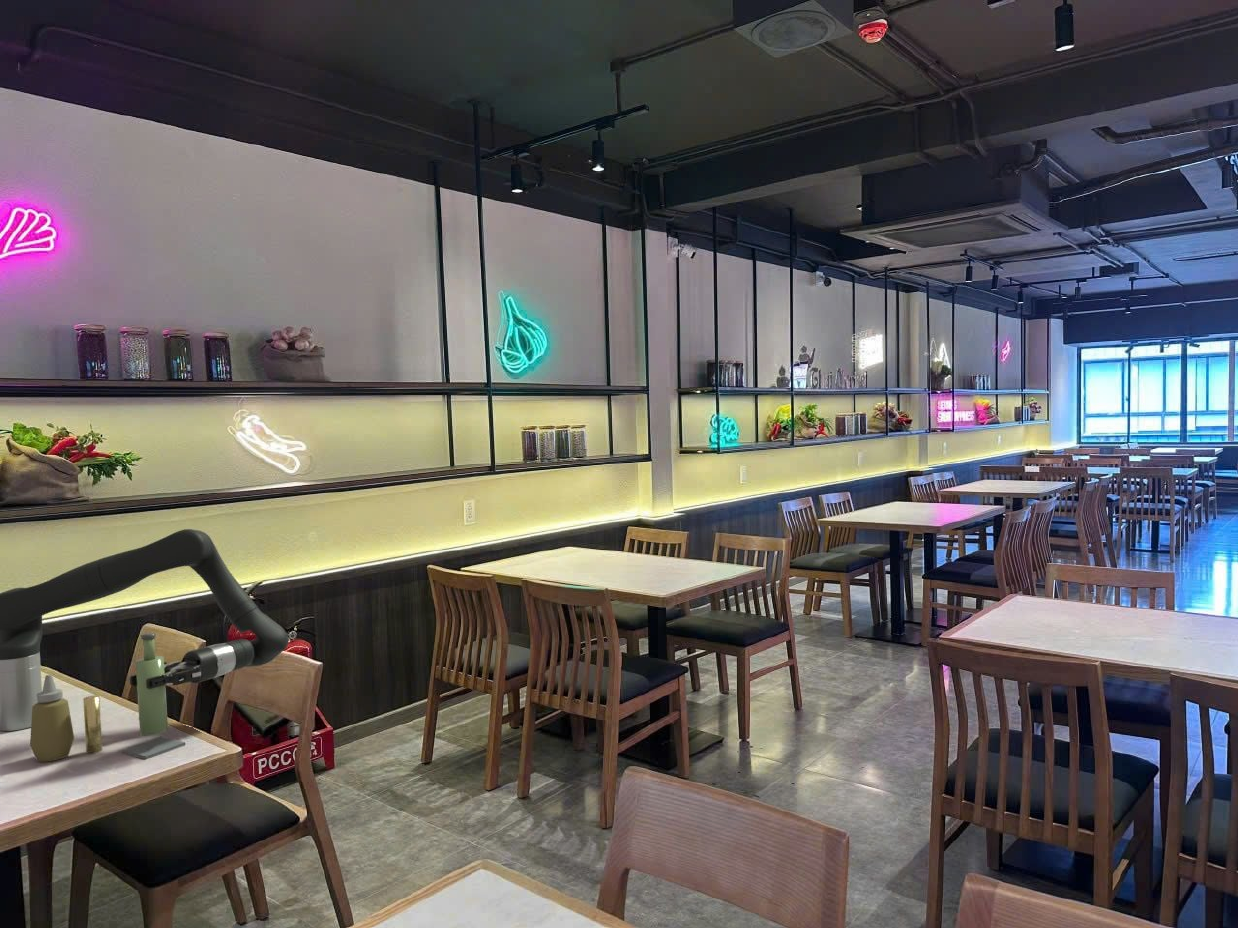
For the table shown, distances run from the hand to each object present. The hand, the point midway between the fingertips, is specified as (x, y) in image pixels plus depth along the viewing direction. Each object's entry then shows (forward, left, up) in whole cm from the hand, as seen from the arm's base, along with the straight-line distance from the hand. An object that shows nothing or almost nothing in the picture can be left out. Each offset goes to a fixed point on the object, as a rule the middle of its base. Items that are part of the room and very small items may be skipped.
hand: (139, 682), depth 183 cm
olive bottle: (0, +3, -11) cm, 12 cm away
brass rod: (-11, -4, -15) cm, 19 cm away
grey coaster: (0, +2, -15) cm, 16 cm away
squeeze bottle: (-16, -10, -16) cm, 25 cm away
